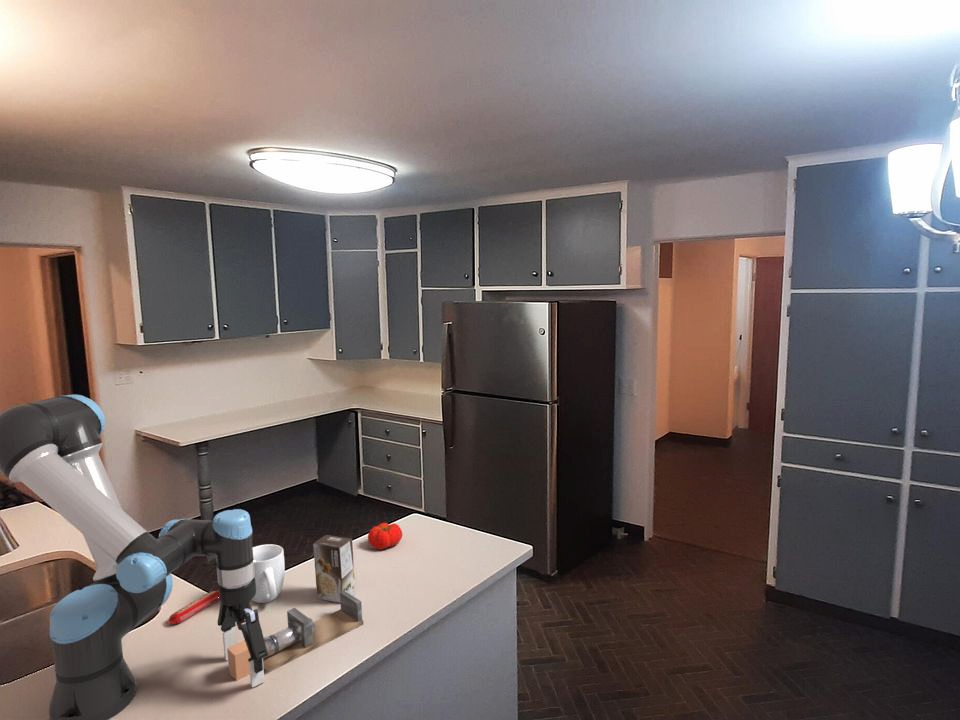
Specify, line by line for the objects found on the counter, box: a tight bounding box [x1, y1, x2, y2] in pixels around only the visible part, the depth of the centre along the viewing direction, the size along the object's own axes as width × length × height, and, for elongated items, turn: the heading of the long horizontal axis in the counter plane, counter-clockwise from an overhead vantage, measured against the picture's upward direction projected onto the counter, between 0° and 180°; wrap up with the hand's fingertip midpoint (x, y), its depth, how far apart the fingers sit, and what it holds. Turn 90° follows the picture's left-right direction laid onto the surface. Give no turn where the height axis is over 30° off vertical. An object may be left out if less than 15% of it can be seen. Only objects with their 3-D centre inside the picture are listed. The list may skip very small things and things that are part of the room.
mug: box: [251, 543, 286, 604], centre depth 161 cm, size 15×11×13 cm
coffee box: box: [312, 534, 356, 603], centre depth 163 cm, size 9×6×16 cm
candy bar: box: [166, 590, 220, 625], centre depth 157 cm, size 16×4×3 cm, turn 156°
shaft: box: [263, 617, 316, 659], centre depth 139 cm, size 13×4×4 cm, turn 136°
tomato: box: [367, 522, 403, 550], centre depth 195 cm, size 10×11×6 cm
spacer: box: [227, 639, 251, 682], centre depth 132 cm, size 5×4×6 cm
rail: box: [263, 591, 364, 674], centre depth 143 cm, size 26×9×7 cm, turn 136°
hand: (244, 670), depth 132 cm, fingers open, 13 cm apart
